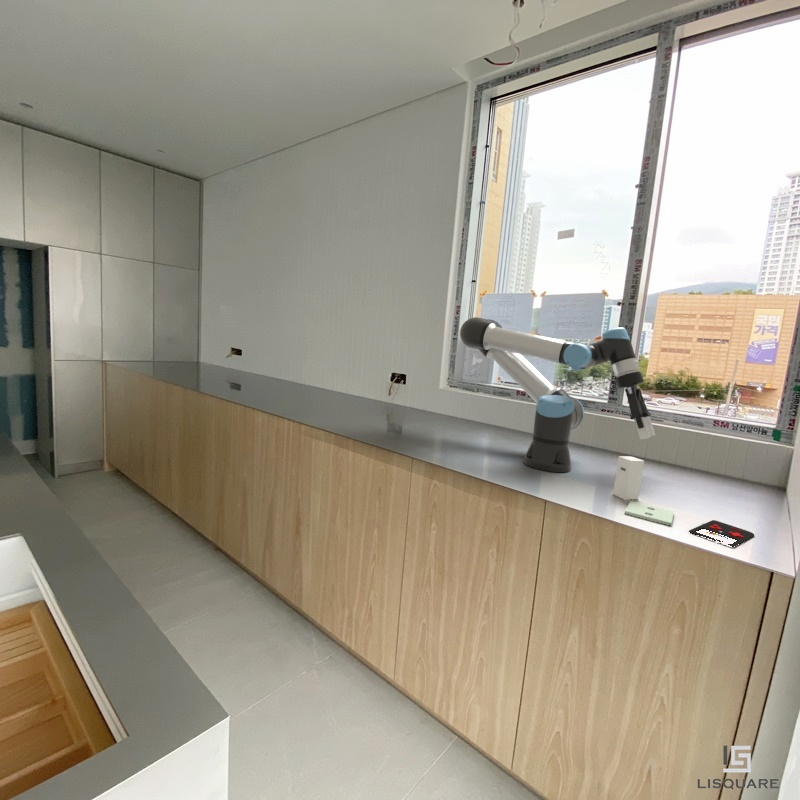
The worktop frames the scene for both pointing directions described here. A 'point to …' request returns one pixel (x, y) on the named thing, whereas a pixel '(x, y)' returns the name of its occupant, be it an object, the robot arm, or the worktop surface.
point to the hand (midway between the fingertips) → (648, 437)
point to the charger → (628, 477)
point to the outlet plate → (650, 513)
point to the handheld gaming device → (724, 532)
